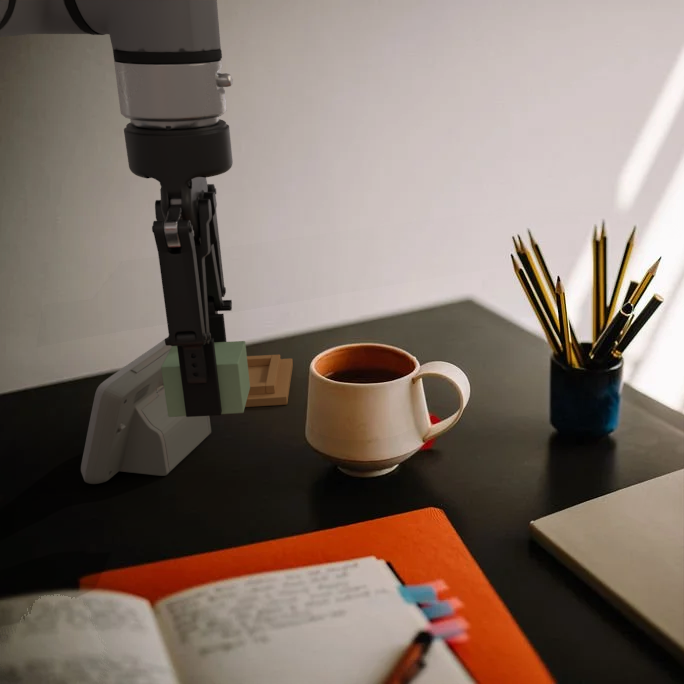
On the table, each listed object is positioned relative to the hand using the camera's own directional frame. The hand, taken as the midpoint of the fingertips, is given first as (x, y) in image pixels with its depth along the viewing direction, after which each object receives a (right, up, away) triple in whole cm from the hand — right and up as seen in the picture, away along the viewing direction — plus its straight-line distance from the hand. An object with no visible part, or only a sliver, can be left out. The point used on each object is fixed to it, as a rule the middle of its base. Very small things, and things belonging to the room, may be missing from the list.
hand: (209, 398), depth 77 cm
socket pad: (-6, 0, +27) cm, 28 cm away
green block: (0, 0, 0) cm, 0 cm away
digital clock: (-10, -6, +14) cm, 18 cm away
